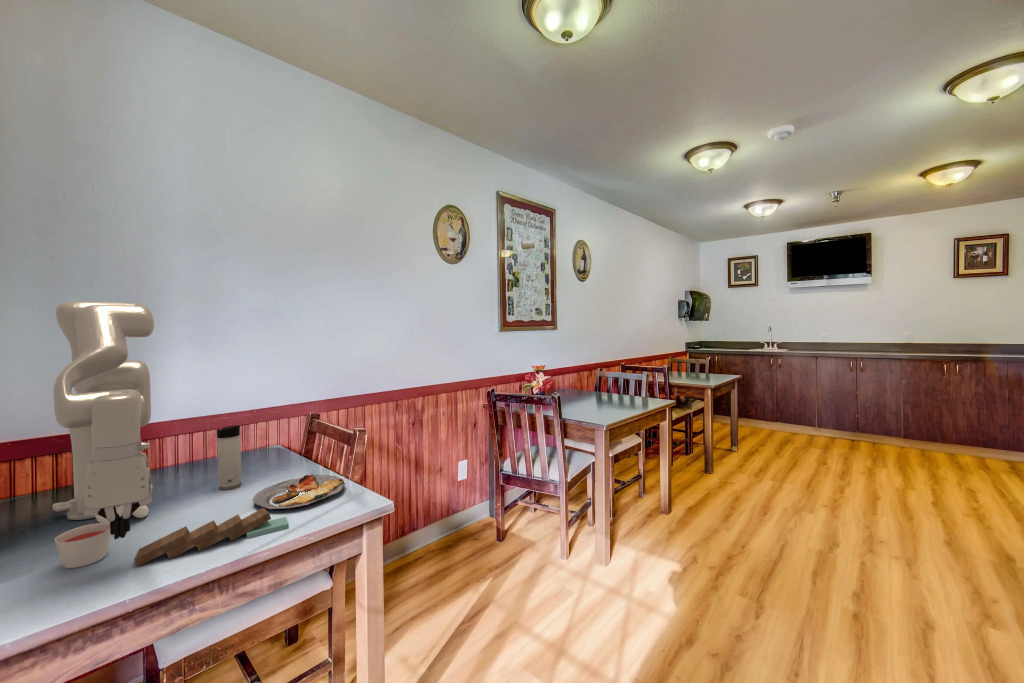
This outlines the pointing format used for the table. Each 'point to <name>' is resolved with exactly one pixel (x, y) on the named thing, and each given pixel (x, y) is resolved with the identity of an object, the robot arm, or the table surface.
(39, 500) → the table surface
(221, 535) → the domino
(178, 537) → the domino
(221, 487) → the travel mug
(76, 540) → the candle
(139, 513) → the white knot
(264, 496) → the food plate
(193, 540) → the domino
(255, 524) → the domino
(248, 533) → the domino
